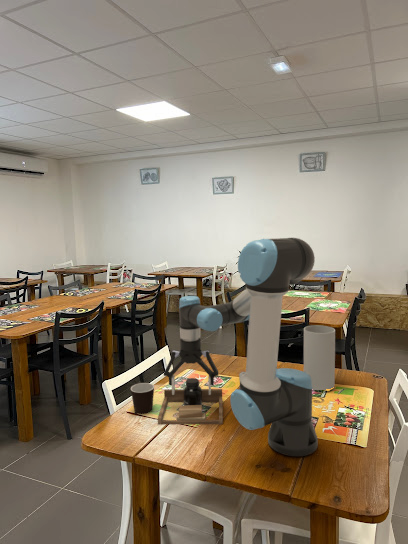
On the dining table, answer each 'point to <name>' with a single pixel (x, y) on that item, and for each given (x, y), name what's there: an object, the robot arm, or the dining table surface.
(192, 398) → the supplement bottle
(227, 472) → the dining table surface
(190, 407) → the offcut upper
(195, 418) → the offcut lower
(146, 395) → the coffee mug
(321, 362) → the cylinder vase
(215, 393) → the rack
